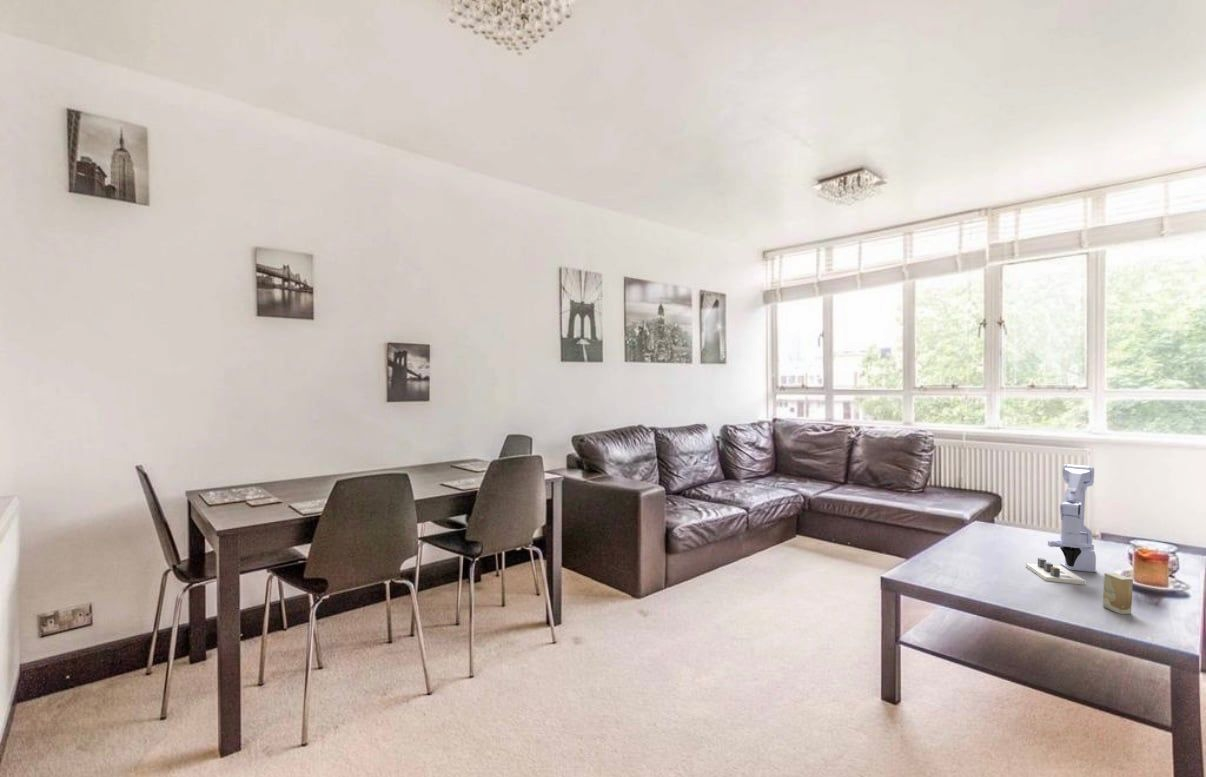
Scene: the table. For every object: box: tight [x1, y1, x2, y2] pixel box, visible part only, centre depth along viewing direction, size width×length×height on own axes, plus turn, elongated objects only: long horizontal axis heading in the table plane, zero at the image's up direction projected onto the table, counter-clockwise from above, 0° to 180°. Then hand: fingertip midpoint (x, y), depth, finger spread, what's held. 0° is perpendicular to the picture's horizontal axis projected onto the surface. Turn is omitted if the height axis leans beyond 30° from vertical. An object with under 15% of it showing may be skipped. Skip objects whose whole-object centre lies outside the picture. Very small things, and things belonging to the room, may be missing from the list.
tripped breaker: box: [1051, 565, 1060, 576], centre depth 215 cm, size 2×2×3 cm
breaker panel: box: [1025, 557, 1086, 585], centre depth 220 cm, size 13×17×5 cm
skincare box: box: [1102, 572, 1134, 615], centre depth 186 cm, size 6×4×12 cm
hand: (1070, 565), depth 215 cm, fingers closed
